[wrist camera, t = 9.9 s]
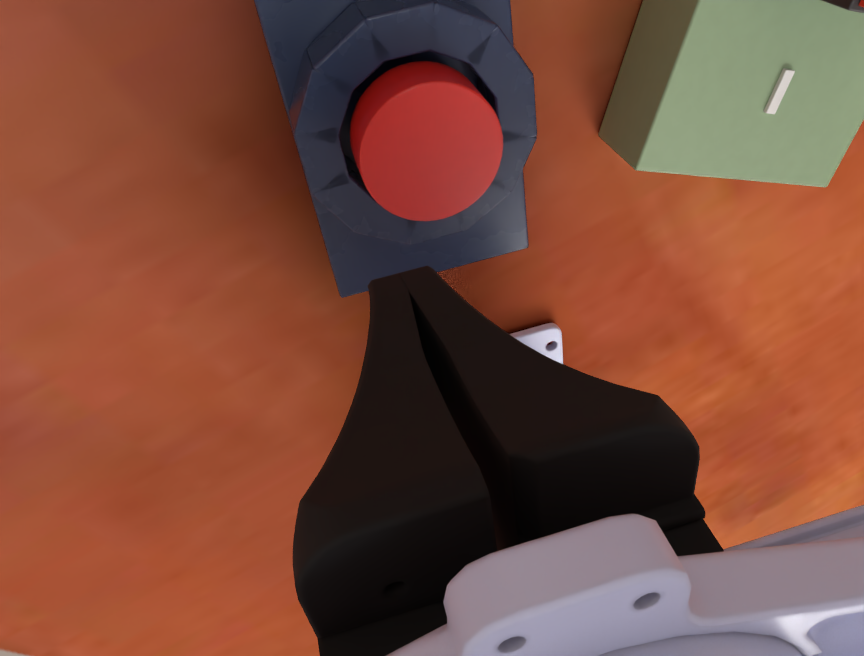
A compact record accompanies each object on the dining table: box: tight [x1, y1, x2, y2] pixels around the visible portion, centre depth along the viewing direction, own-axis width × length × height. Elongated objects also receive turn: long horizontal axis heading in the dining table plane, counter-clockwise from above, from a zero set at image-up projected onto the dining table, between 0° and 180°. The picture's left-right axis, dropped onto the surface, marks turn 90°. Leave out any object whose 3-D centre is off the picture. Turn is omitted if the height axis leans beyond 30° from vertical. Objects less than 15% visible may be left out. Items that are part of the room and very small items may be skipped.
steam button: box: [350, 61, 503, 221], centre depth 20 cm, size 4×4×2 cm
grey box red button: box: [254, 0, 537, 298], centre depth 22 cm, size 12×7×4 cm, turn 8°
